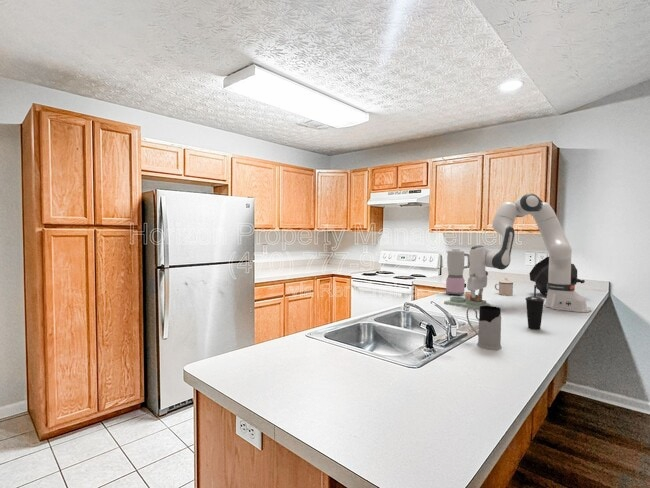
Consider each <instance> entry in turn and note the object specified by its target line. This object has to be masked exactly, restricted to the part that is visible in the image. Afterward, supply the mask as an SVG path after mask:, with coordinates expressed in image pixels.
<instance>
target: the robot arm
mask: <svg viewBox="0 0 650 488" xmlns="http://www.w3.org/2000/svg"><path fill="white" fill-rule="evenodd" d="M528 215H530V216H532V217H533V219H534V221H535V224H536V226H537V228H538V231H539V232H540V234H541V237H542V240H543V242H544V245H545V247H546V250H547V251H548V257H549V272H548V283H547V294H546V299H545V301H544V304H543V307H547V308H550V309H552V310H559V311H567V312H575V313H590V312H592V308H591V307H588V306H587V302H586V298H584V297H583V296H582V295H580V294H579V293H578V292H576V291H575V290H576V288H575V287H576V285H575V286H573V285H572V284H571V263H572V251H573V250H572V247H571V245H570V243H569V241H568V238H567V236H566V233H565V232H564V229H563V227H562V224H561V223H560V221H559V218H558V216H557V214H556V212H555V210H554V209H553V208H552V206H551V204H550V203H548V202H546V201H545V202H543V200H542V199H541V198H540V197H539V196H538V195H536V194H534V193H526V194H524V195H523V196H521V197H519V198H517V199H516V200H514V201H513V202H511V201H505V202H503V203H501V204H500V205H499V207H498V209H497V211H496V213H495V215H494V218H493V220H492V224H491V225H492V226H491V227H492V228H493V230H494V231H495V232H496V233H498V234H500V235H501V237H502V239H501V243H500V247H499V250H498V251H492V250H489V249H487V248H486V247H485V246H484V245H474V246H472V247H470V249H469V253H468V254H469V262H470V266H469V268H468V269H469V270H468V272H469V273H468V276H469V277H468V278H467V283H466V289H467V291H469V292H471V294H472V298H475V297H476V295H481V296H482V297H483V291H484V289H485V288H487V285H488V275H489V272H488V271H487V270H486V268H490V269H491V268H492V269H498V270H505V269H507V268H508V267H509V266H510V263H511V254H512V248H513V244H514V240H515V229H514V224H515V220H516V218H523V217H526V216H528ZM477 290H478V294H476V291H477Z"/></svg>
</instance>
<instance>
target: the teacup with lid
mask: <svg viewBox="0 0 650 488" xmlns="http://www.w3.org/2000/svg"><path fill="white" fill-rule="evenodd" d="M497 286H498V288H497ZM513 286H514V282H513V281H512V280H510V279H508V277H506V278H505V277H504V279H502V280H499V281H498V283H495V285H494V289H495V290H496V291H498V294H499V295H500V296H504V297H505V296H506V297H508V296H509V297H511V296H513V293H514V289H513V288H514V287H513Z"/></svg>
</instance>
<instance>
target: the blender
mask: <svg viewBox="0 0 650 488" xmlns="http://www.w3.org/2000/svg"><path fill="white" fill-rule="evenodd" d="M446 253H447V257H446V258H447V259H446V260H447V261H446V264H447V266H446V267H447V273H448V275H447V278H446V283H445V285H446V286H445V293H446V295H447V296H450V295H459V297H463V296H464V295H465V289H466V288H467V283H466V281H465V278H464V269H469V266H470V262H469V254H470V253H465V251H462V250H461V249H459V248H452V249H451V250H446ZM465 257H467V265H465Z"/></svg>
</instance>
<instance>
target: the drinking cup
mask: <svg viewBox="0 0 650 488" xmlns="http://www.w3.org/2000/svg"><path fill="white" fill-rule="evenodd" d="M533 287H534V288H533V289H534V290H533V291H534V292H533V295H530V296H528V297H525V301H526V302H525V304H526V315H527V316H526V318H527V328H528V329H529V330H537V331H539V330H541V328H542V327H541V325H542V318H543V311H544V305H545V302H546V299H545V298H543V297H540V296H537V288H536V284H534V285H533Z"/></svg>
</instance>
